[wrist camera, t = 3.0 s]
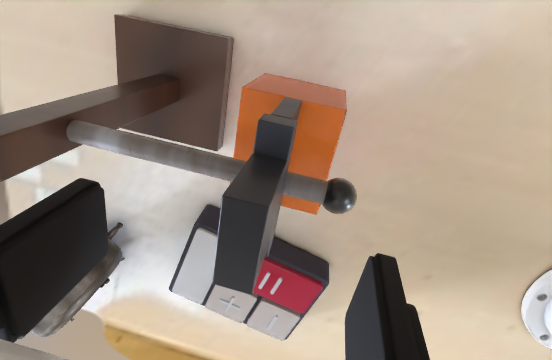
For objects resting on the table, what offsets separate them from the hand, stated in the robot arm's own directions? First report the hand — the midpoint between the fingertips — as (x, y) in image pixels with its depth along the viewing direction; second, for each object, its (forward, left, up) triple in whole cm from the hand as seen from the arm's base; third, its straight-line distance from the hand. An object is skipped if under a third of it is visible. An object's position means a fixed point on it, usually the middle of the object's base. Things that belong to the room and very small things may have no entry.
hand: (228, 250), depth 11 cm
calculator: (+2, +19, -20) cm, 28 cm away
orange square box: (0, 0, -16) cm, 16 cm away
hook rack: (+6, 0, -20) cm, 21 cm away
